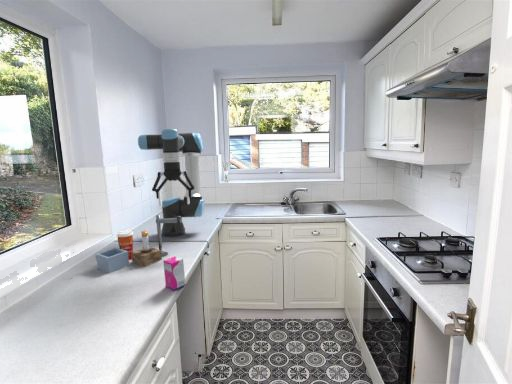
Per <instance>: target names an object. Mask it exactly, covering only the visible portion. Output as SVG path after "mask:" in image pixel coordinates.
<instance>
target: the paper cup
mask: <svg viewBox="0 0 512 384" xmlns="http://www.w3.org/2000/svg"><path fill="white" fill-rule="evenodd" d="M116 237H117V242H118V249H122V250H125V251H128V258H129V261H132V255H131V253H132V252H134V239H133V237H134V232H133V231H132V230H127V229H126V230H121V231H118V232H117V234H116Z"/></svg>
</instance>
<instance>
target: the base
mask: <svg viewBox="0 0 512 384" xmlns="http://www.w3.org/2000/svg"><path fill="white" fill-rule="evenodd" d="M162 251H163V252H162V258H163V257H166V256H168V255H169V252H168V251H164V250H162Z"/></svg>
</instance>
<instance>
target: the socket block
mask: <svg viewBox="0 0 512 384" xmlns="http://www.w3.org/2000/svg"><path fill="white" fill-rule="evenodd" d="M149 250H150V252H148V253H143V248H140V249H137V250H135V251H134V250H133V252H132V253H131V255H132V259H131V262H132V263H134V264H137V265H139V266H143V267H147V266H150V265H151V264H155V263H157V262H159V261H161V260H163V257H162V253H161V250H160V249H159V248H156V247H151V246H149Z"/></svg>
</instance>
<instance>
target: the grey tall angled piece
mask: <svg viewBox="0 0 512 384" xmlns="http://www.w3.org/2000/svg"><path fill="white" fill-rule="evenodd" d="M160 216H161V215H160V214H156V215H155V224H156V232H157V245H158V246H157V247H158V249H160V250H161V253H162V252H163V251H164V250H163V241H162V235H161V230H162V227H161V224H163V223H181V216H176V218H163V217H162V218H161V217H160Z"/></svg>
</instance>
